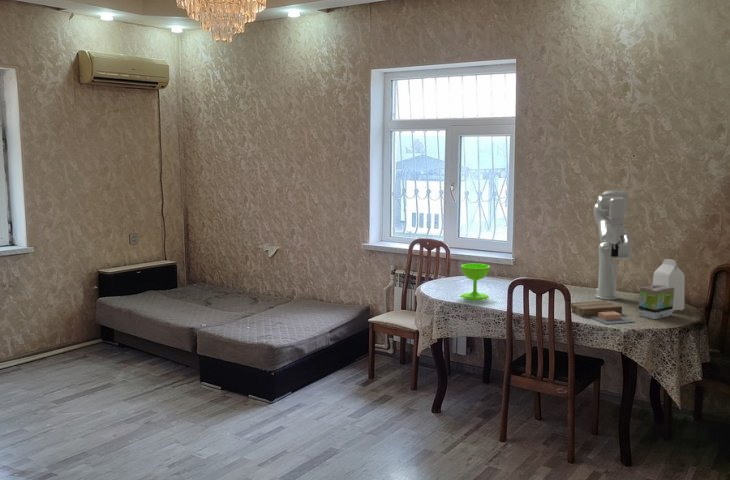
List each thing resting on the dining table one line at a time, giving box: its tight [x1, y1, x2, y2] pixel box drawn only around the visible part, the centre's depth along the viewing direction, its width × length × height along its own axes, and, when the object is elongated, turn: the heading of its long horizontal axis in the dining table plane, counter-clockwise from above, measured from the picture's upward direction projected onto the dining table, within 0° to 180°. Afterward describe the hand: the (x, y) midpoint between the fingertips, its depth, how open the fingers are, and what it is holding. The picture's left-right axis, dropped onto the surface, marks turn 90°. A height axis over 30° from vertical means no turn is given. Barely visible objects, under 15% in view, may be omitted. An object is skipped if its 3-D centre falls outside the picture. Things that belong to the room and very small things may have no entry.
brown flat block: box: [570, 300, 623, 318], centre depth 342 cm, size 14×22×4 cm, turn 104°
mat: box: [589, 315, 636, 326], centre depth 328 cm, size 14×16×1 cm
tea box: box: [637, 285, 674, 320], centre depth 335 cm, size 15×10×15 cm, turn 126°
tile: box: [598, 311, 622, 320], centre depth 329 cm, size 6×9×2 cm, turn 103°
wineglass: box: [460, 263, 491, 301], centre depth 376 cm, size 16×16×18 cm
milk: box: [651, 258, 686, 312], centre depth 350 cm, size 12×12×26 cm
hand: (614, 256), depth 351 cm, fingers closed
